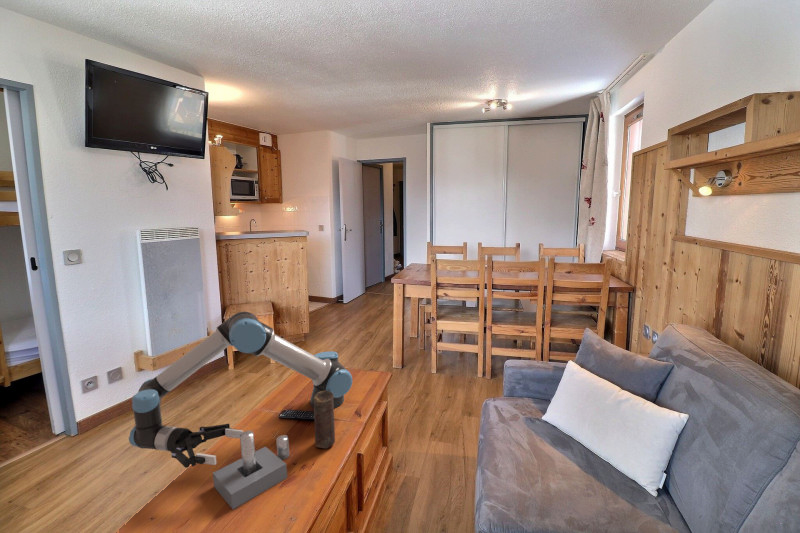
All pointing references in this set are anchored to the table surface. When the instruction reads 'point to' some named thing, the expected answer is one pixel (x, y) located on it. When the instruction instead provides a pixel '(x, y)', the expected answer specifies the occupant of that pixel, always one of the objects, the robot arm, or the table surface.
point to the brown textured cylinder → (324, 419)
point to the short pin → (282, 447)
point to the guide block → (249, 478)
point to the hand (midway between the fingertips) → (229, 446)
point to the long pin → (248, 453)
